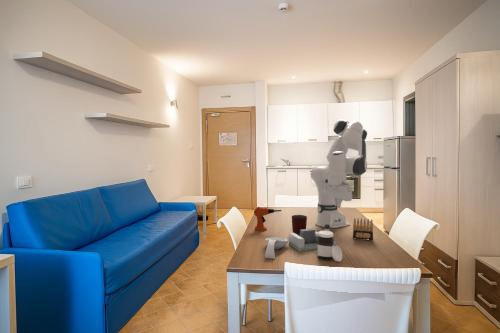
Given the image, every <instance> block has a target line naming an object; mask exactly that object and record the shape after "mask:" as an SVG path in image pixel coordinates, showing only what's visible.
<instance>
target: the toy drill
mask: <svg viewBox="0 0 500 333" xmlns="http://www.w3.org/2000/svg"><path fill="white" fill-rule="evenodd" d="M278 212H282V209H274V208H267V207H260V206H257V207H256V208H255V209H254V210H253V214H254V216H255V217H256V226H255V227H254V230H255V231H257V232H266V231H267V230H268V228H267V227H265V225H264V223H265V222H266V219H265V217H264V216H267V215H270V214H274V213H278Z"/></svg>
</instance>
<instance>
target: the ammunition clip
mask: <svg viewBox="0 0 500 333" xmlns="http://www.w3.org/2000/svg"><path fill="white" fill-rule="evenodd" d="M353 238H356V239H355V240H358V239H369V240H368V241H370V240H373V241H374V223H373V219H370V220H369V218H367V219H366V218H364V219H363V218H360V219H359V218H358V217H357V220H356V218H355V217H354V219H353V226H352V239H353Z"/></svg>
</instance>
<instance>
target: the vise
mask: <svg viewBox="0 0 500 333" xmlns="http://www.w3.org/2000/svg"><path fill="white" fill-rule="evenodd" d="M288 236H289V239H288V245H290V246H291V247H292V248H294V249H296V250H297V252H301V251H308V250H315V249H316V250H317V243H316V242H315V243H310V244H304V238H302V237H300V236H299V235H297V234H295V233H293V232H289V234H288ZM334 246H337V242H335V241H334Z"/></svg>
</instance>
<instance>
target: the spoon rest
mask: <svg viewBox="0 0 500 333" xmlns="http://www.w3.org/2000/svg"><path fill="white" fill-rule="evenodd" d="M265 242H266V244H267V245H266V249H265V253H264V258H265V259H273V260H274V259H276V254H275V250H278V249H279V250H280V249H282V248H283V247H285V246H286V245H287V244H288V243H289V239H287V238H284V237H280V236H279V237H278V236H277V237H276V236H274V237H266V238H265Z"/></svg>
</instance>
